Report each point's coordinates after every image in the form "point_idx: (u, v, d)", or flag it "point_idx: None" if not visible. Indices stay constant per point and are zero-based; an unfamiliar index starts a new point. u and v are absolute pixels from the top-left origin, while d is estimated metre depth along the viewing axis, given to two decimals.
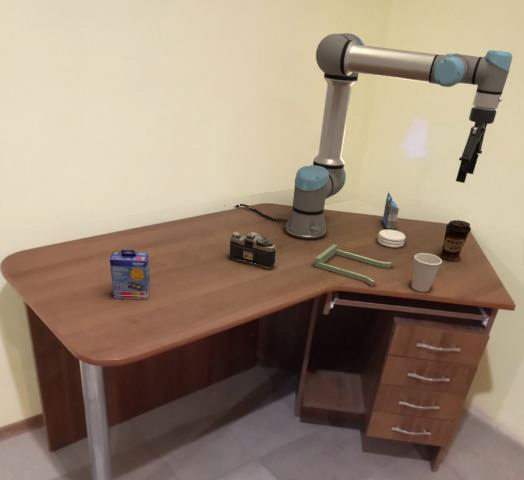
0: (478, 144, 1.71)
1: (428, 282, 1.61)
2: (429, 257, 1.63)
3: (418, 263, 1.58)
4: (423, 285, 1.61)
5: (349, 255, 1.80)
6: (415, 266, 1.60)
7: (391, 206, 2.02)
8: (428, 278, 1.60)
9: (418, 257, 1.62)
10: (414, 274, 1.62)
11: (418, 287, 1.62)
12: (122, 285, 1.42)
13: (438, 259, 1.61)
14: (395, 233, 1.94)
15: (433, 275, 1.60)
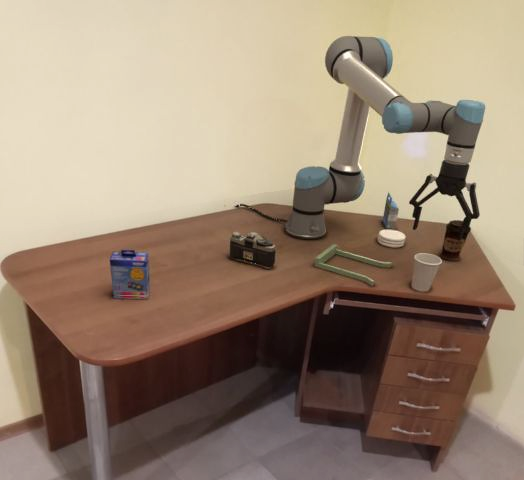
0: None
1: (428, 282, 1.61)
2: (429, 257, 1.63)
3: (418, 263, 1.58)
4: (423, 285, 1.61)
5: (349, 255, 1.80)
6: (415, 266, 1.60)
7: (391, 206, 2.02)
8: (428, 278, 1.60)
9: (418, 257, 1.62)
10: (414, 274, 1.62)
11: (418, 287, 1.62)
12: (122, 285, 1.42)
13: (438, 259, 1.61)
14: (395, 233, 1.94)
15: (433, 275, 1.60)
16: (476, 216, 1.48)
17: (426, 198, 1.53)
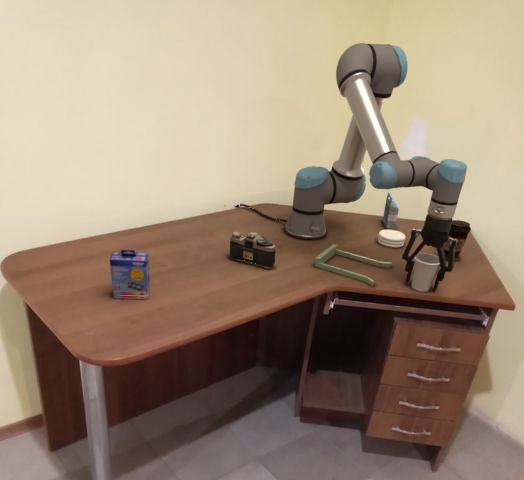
0: None
1: (428, 282, 1.61)
2: (429, 257, 1.63)
3: (418, 263, 1.58)
4: (423, 285, 1.61)
5: (349, 255, 1.80)
6: (415, 266, 1.60)
7: (391, 206, 2.02)
8: (428, 278, 1.60)
9: (418, 257, 1.62)
10: (414, 274, 1.62)
11: (418, 287, 1.62)
12: (122, 285, 1.42)
13: (438, 259, 1.61)
14: (395, 233, 1.94)
15: (433, 275, 1.60)
16: (449, 270, 1.57)
17: (416, 252, 1.59)
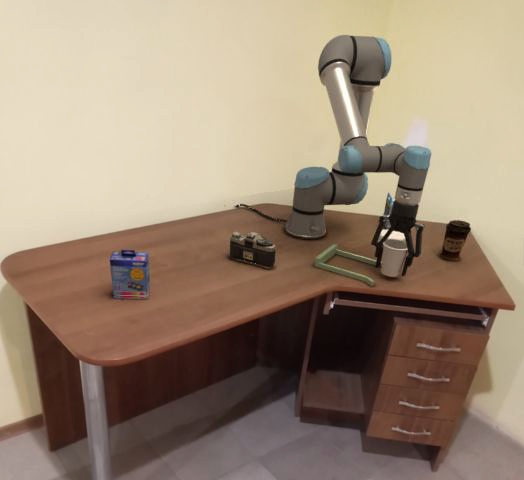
0: None
1: (397, 267, 1.64)
2: (398, 243, 1.66)
3: (386, 248, 1.62)
4: (392, 270, 1.65)
5: (349, 255, 1.80)
6: (384, 252, 1.63)
7: (391, 206, 2.02)
8: (396, 263, 1.63)
9: (387, 243, 1.66)
10: (383, 259, 1.65)
11: (387, 272, 1.66)
12: (122, 285, 1.42)
13: (406, 245, 1.64)
14: (395, 233, 1.94)
15: (401, 260, 1.63)
16: (417, 255, 1.60)
17: (384, 238, 1.63)
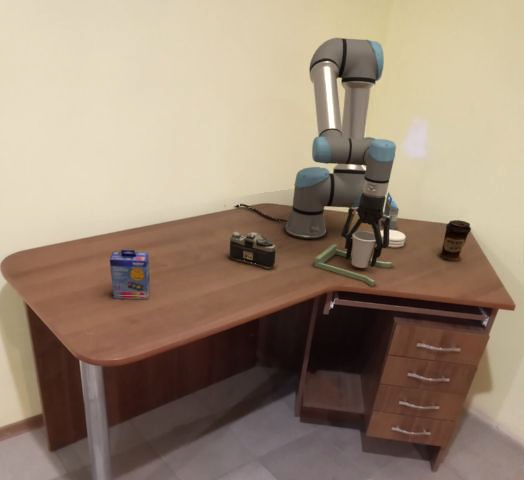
0: None
1: (366, 258, 1.68)
2: (368, 234, 1.70)
3: (355, 240, 1.66)
4: (361, 261, 1.69)
5: None
6: (353, 243, 1.67)
7: (391, 206, 2.02)
8: (365, 254, 1.67)
9: (357, 235, 1.70)
10: (353, 251, 1.69)
11: (357, 263, 1.70)
12: (122, 285, 1.42)
13: None
14: (395, 233, 1.94)
15: (370, 251, 1.67)
16: (385, 246, 1.64)
17: (353, 230, 1.67)
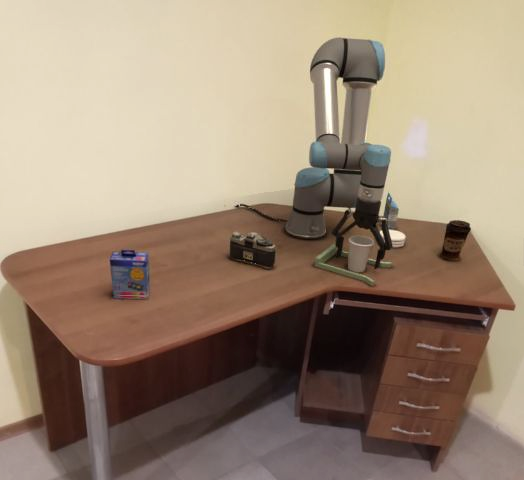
0: None
1: (362, 263, 1.69)
2: (364, 239, 1.71)
3: (351, 245, 1.67)
4: (357, 266, 1.70)
5: None
6: (349, 248, 1.69)
7: (391, 206, 2.02)
8: (361, 259, 1.68)
9: (353, 239, 1.71)
10: (349, 255, 1.70)
11: (353, 268, 1.71)
12: (122, 285, 1.42)
13: (371, 241, 1.69)
14: (395, 233, 1.94)
15: (366, 256, 1.68)
16: (388, 248, 1.63)
17: (346, 230, 1.68)
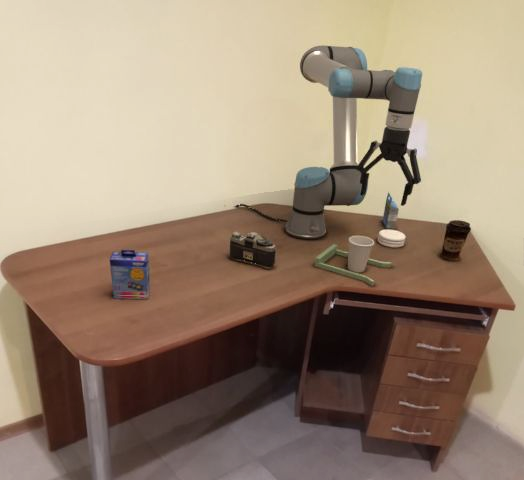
0: None
1: (362, 263, 1.69)
2: (364, 239, 1.71)
3: (351, 245, 1.67)
4: (357, 266, 1.70)
5: None
6: (349, 248, 1.69)
7: (391, 206, 2.02)
8: (361, 259, 1.68)
9: (353, 239, 1.71)
10: (349, 255, 1.70)
11: (353, 268, 1.71)
12: (122, 285, 1.42)
13: (371, 241, 1.69)
14: (395, 233, 1.94)
15: (366, 256, 1.68)
16: (416, 181, 1.55)
17: (371, 164, 1.60)
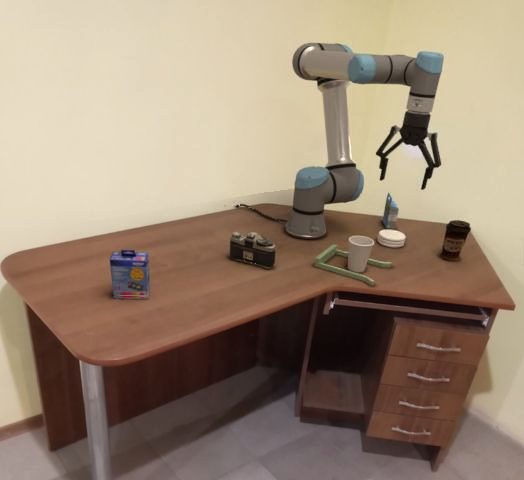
0: None
1: (362, 263, 1.69)
2: (364, 239, 1.71)
3: (351, 245, 1.67)
4: (357, 266, 1.70)
5: None
6: (349, 248, 1.69)
7: (391, 206, 2.02)
8: (361, 259, 1.68)
9: (353, 239, 1.71)
10: (349, 255, 1.70)
11: (353, 268, 1.71)
12: (122, 285, 1.42)
13: (371, 241, 1.69)
14: (395, 233, 1.94)
15: (366, 256, 1.68)
16: (437, 165, 1.56)
17: (391, 149, 1.61)
